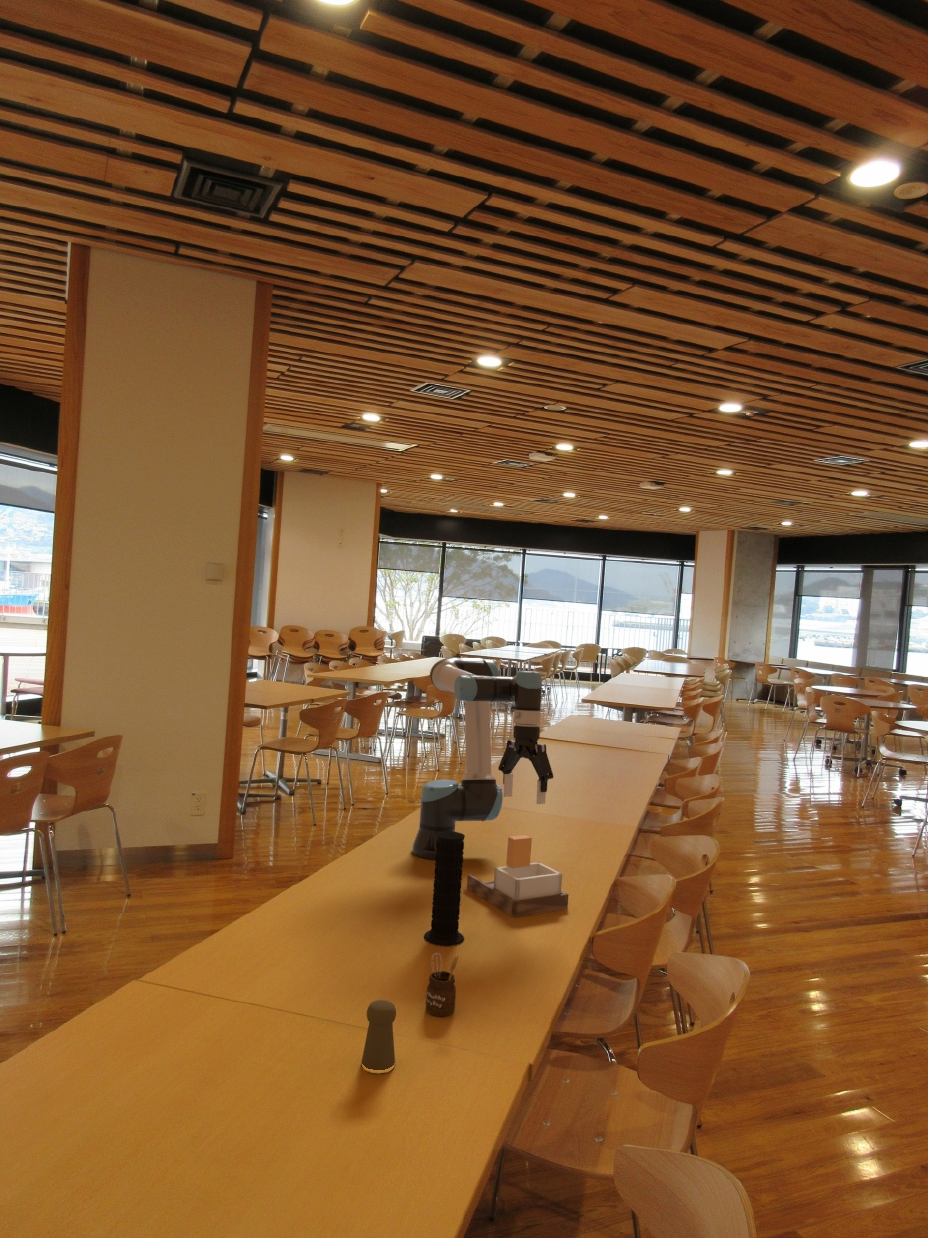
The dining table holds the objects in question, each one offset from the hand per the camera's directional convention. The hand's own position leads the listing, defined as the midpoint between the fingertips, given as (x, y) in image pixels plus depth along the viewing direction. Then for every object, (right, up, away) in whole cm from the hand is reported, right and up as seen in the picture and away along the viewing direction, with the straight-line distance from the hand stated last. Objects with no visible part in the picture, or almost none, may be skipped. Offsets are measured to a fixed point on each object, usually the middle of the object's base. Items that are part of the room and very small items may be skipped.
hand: (524, 800), depth 245 cm
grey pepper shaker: (-32, -28, -93) cm, 102 cm away
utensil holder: (-22, -28, -71) cm, 80 cm away
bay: (-2, -27, -3) cm, 27 cm away
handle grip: (-22, -27, -34) cm, 49 cm away
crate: (0, -26, -6) cm, 27 cm away
